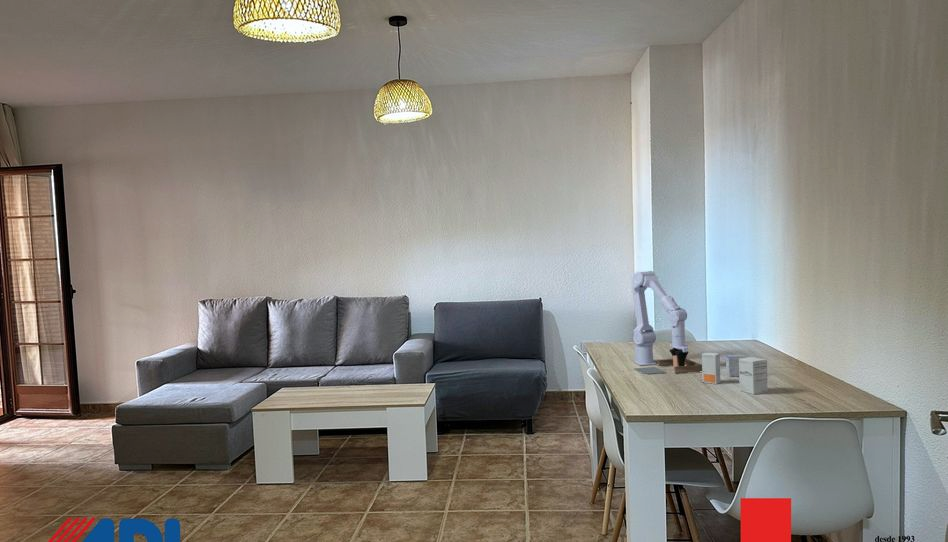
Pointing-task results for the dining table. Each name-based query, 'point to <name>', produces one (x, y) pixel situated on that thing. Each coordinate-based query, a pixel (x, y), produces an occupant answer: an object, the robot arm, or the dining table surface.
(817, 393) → the dining table surface
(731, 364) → the medicine box
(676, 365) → the terracotta block
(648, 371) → the grey mat
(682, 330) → the robot arm
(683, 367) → the open side frame
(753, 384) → the supplement box
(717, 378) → the skincare box
